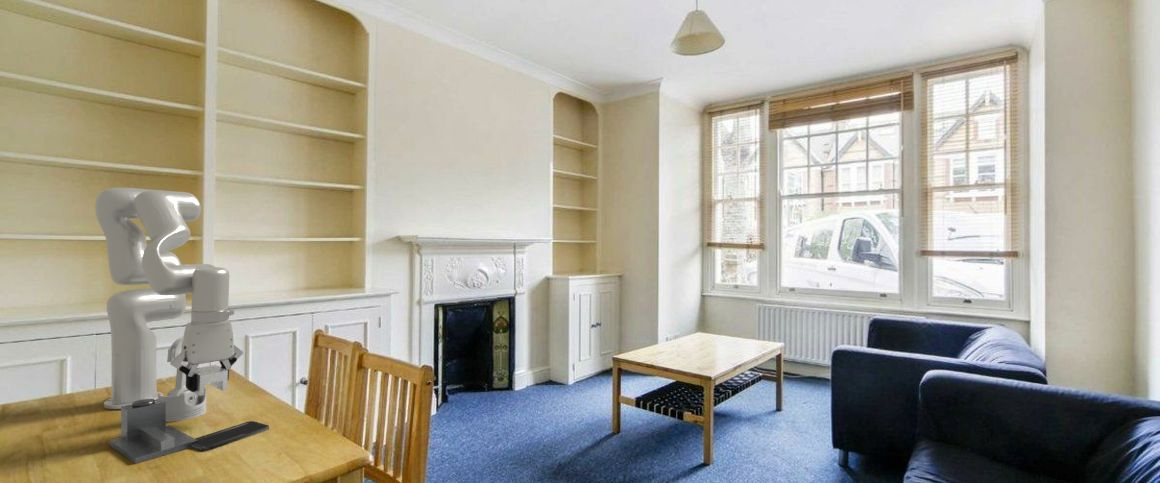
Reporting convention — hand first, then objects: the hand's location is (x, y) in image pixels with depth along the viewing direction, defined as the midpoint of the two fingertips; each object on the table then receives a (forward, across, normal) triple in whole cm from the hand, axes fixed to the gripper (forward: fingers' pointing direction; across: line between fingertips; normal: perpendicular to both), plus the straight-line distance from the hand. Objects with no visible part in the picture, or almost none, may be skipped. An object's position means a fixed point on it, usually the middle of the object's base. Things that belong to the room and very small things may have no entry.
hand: (207, 386), depth 129 cm
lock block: (+1, 0, 0) cm, 1 cm away
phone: (+9, +1, +15) cm, 17 cm away
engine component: (+10, +1, -11) cm, 15 cm away
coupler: (+9, +13, +7) cm, 17 cm away
